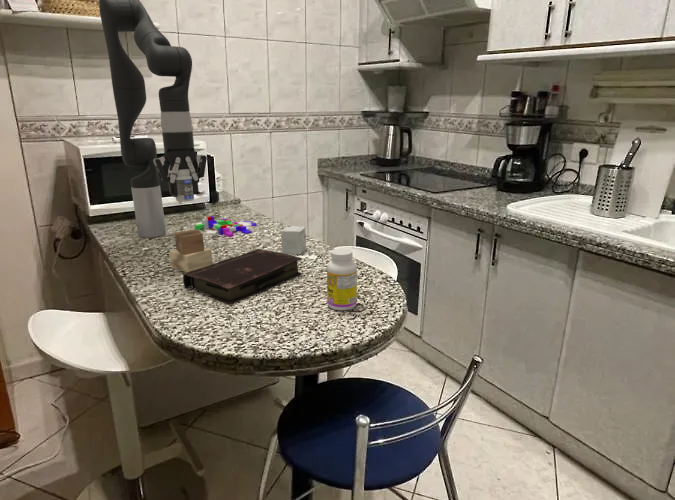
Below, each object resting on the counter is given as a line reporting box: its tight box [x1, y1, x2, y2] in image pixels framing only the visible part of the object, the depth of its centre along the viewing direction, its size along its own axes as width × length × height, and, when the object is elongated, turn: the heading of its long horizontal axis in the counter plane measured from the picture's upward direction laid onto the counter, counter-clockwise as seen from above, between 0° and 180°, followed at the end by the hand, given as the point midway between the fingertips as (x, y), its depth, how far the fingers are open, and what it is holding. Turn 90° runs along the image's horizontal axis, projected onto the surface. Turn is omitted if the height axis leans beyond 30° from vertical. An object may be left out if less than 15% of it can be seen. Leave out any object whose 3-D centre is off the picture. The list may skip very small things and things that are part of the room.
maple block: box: [169, 246, 214, 273], centre depth 128 cm, size 8×8×5 cm
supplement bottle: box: [326, 247, 358, 312], centre depth 101 cm, size 7×7×13 cm
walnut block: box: [173, 228, 205, 255], centre depth 127 cm, size 6×6×5 cm
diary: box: [182, 248, 304, 305], centre depth 117 cm, size 19×25×5 cm
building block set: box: [194, 215, 257, 238], centre depth 169 cm, size 25×20×4 cm
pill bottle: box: [175, 169, 195, 203], centre depth 122 cm, size 5×5×8 cm
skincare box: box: [280, 225, 307, 255], centre depth 140 cm, size 6×6×7 cm
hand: (184, 195), depth 123 cm, fingers closed on pill bottle, 4 cm apart
